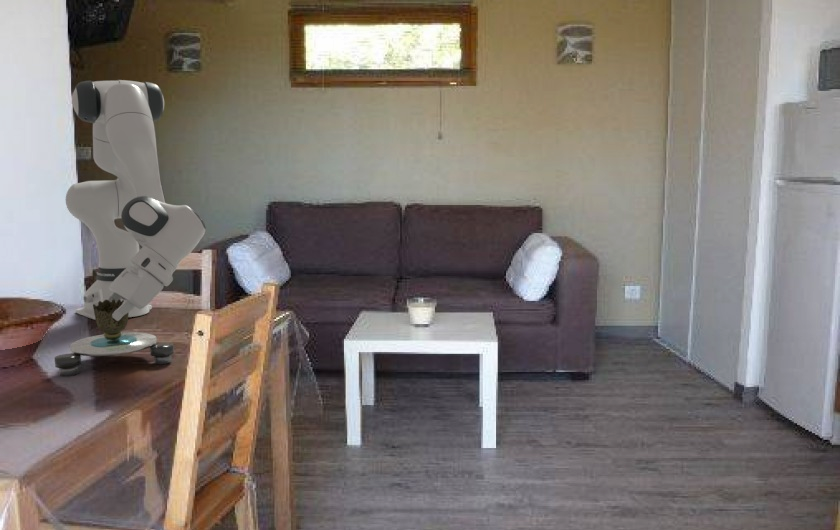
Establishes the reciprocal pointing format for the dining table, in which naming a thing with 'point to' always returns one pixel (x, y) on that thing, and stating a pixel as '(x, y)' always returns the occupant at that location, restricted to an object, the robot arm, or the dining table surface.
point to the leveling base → (112, 350)
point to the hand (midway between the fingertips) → (109, 315)
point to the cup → (110, 319)
